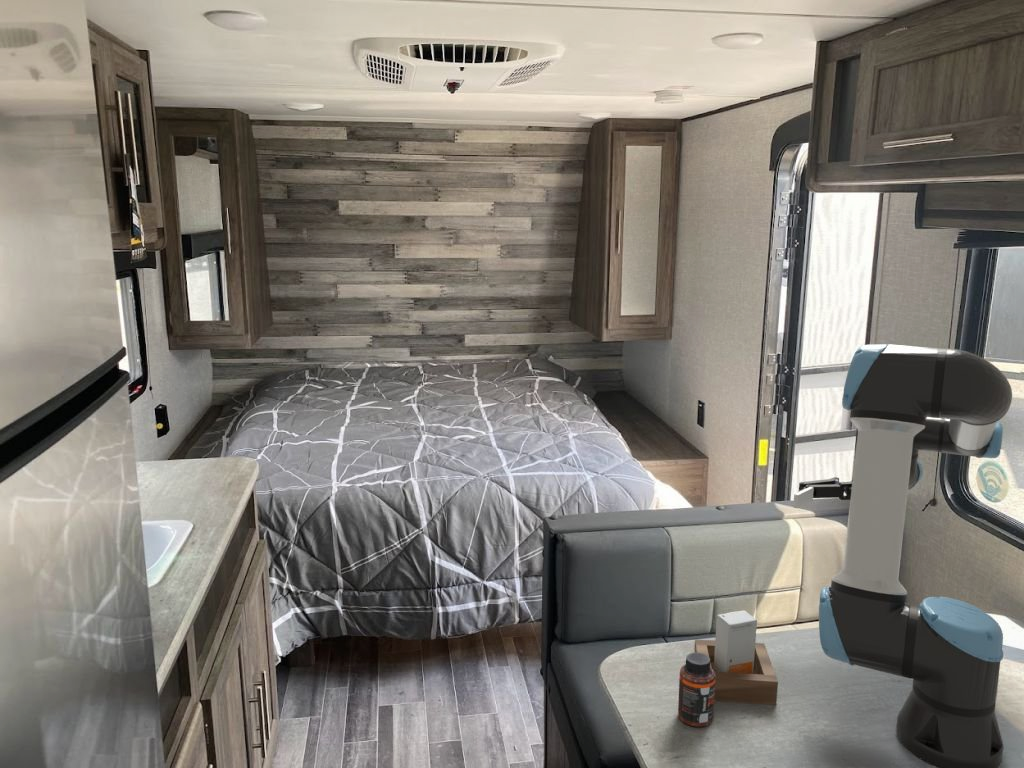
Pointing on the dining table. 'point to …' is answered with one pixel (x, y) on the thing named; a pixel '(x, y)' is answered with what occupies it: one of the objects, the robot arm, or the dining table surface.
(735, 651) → the skincare box
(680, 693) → the supplement bottle
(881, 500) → the robot arm
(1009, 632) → the dining table surface
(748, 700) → the walnut tray
